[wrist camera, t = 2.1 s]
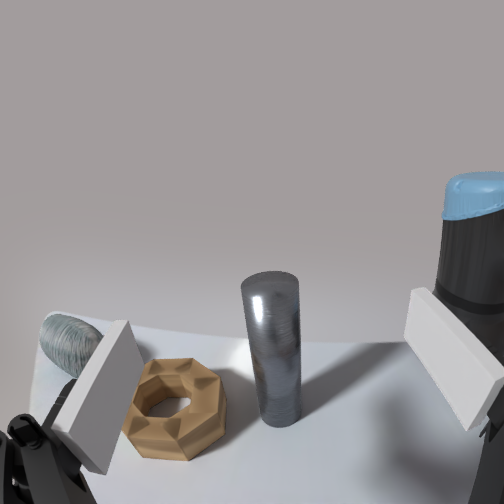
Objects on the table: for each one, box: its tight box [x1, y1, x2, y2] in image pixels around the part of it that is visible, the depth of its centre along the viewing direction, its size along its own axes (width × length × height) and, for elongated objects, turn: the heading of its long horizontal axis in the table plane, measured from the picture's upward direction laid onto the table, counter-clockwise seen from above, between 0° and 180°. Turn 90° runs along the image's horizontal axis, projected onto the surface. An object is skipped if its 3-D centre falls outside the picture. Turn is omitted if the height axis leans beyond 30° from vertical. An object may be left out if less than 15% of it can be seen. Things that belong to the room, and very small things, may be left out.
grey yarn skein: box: [39, 314, 103, 378], centre depth 36 cm, size 14×10×10 cm
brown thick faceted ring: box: [121, 358, 227, 461], centre depth 28 cm, size 12×12×4 cm
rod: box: [241, 271, 301, 428], centre depth 26 cm, size 4×4×16 cm
